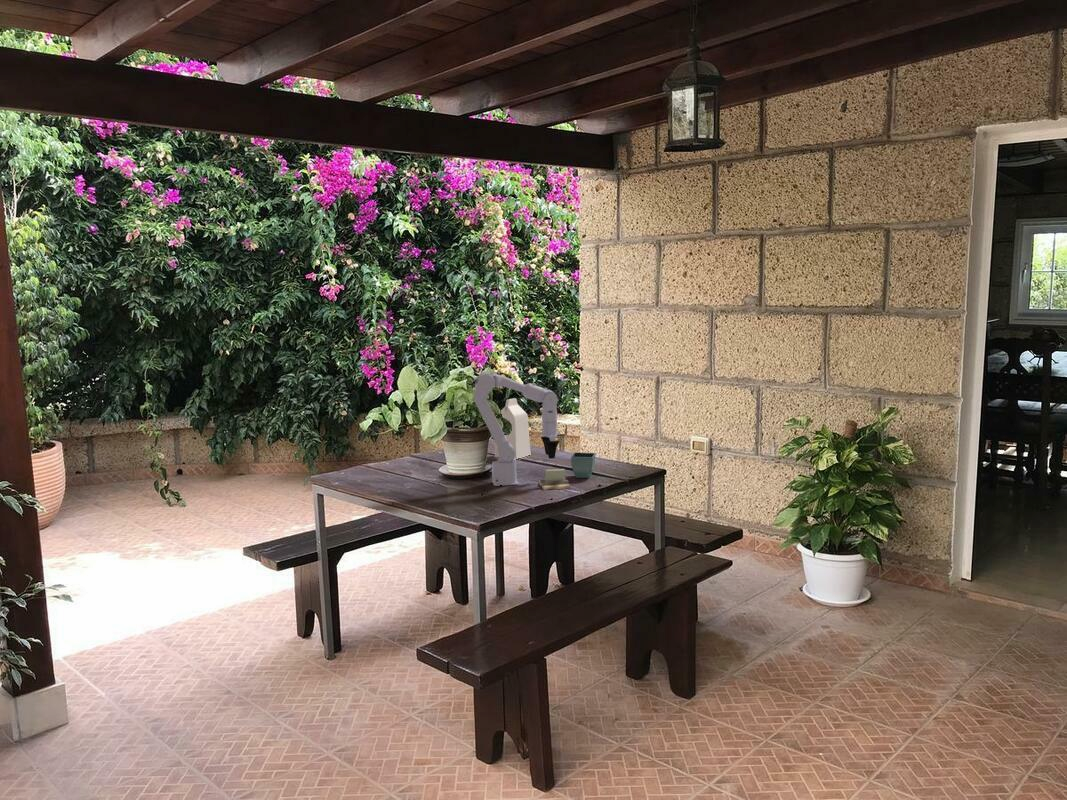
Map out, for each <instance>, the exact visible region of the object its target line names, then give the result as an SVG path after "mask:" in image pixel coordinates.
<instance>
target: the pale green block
mask: <svg viewBox="0 0 1067 800" xmlns="http://www.w3.org/2000/svg"><path fill="white" fill-rule="evenodd" d="M565 478H566V470H565V468H559V469H557V468H556V469H545V479H546V481H563V480H565Z"/></svg>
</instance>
